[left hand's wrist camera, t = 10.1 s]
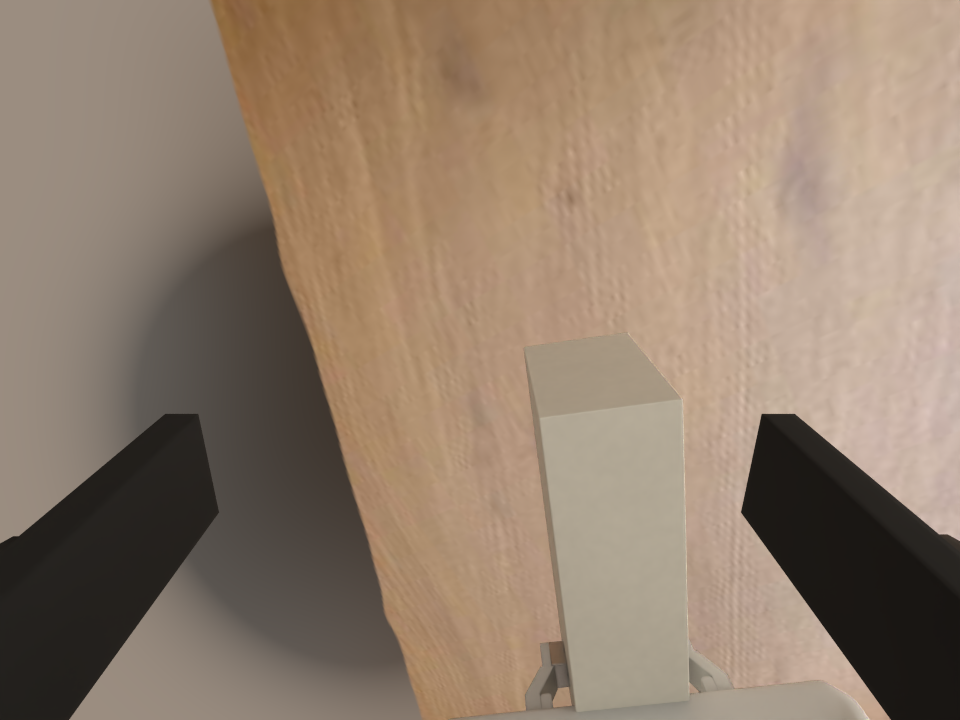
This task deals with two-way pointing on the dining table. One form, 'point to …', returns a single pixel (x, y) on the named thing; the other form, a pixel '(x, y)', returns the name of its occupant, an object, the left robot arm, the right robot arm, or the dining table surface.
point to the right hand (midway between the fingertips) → (612, 642)
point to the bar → (614, 518)
